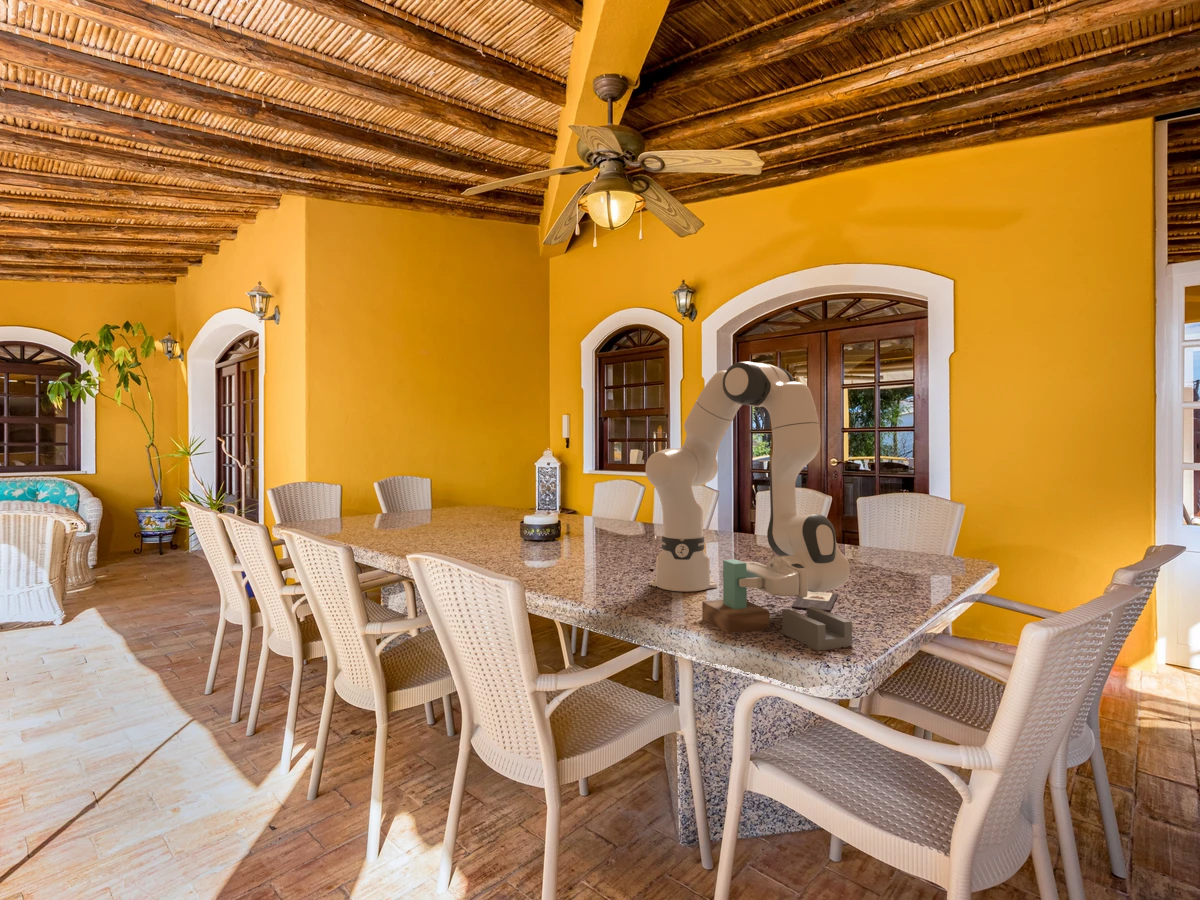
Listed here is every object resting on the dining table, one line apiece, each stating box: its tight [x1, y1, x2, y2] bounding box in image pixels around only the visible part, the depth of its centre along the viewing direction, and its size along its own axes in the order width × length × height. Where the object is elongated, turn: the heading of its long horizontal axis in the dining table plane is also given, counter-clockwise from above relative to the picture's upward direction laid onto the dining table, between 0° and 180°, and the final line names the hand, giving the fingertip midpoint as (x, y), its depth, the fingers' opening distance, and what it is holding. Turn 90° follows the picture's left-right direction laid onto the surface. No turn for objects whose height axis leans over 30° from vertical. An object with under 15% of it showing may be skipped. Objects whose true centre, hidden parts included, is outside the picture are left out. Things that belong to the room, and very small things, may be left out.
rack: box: [781, 607, 853, 652], centre depth 131 cm, size 12×8×5 cm, turn 18°
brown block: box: [701, 599, 770, 635], centre depth 142 cm, size 12×10×4 cm
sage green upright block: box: [722, 558, 748, 609], centre depth 142 cm, size 5×3×10 cm, turn 18°
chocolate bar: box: [790, 591, 839, 613], centre depth 161 cm, size 9×1×18 cm
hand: (731, 579), depth 142 cm, fingers closed on sage green upright block, 5 cm apart
